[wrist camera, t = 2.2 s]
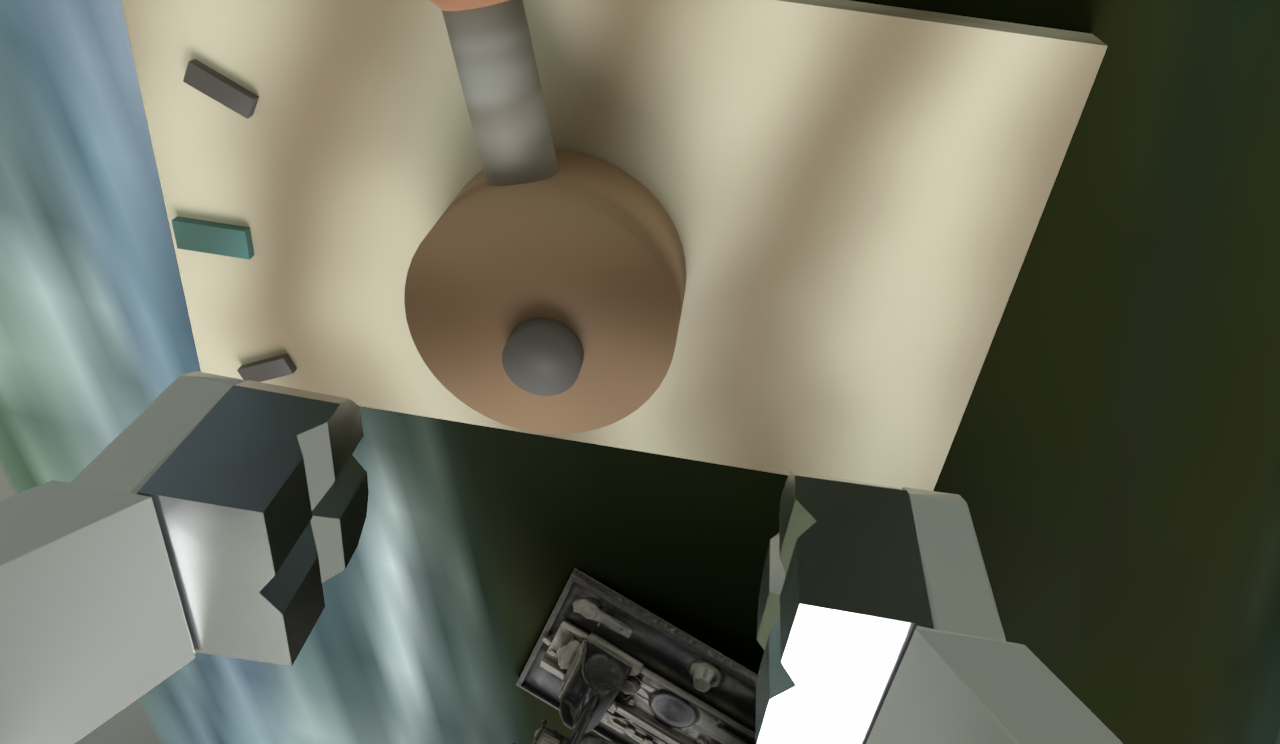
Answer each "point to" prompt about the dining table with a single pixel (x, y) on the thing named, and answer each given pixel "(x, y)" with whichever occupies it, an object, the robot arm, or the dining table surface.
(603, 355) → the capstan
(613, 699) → the camera
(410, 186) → the board
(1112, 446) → the dining table surface
